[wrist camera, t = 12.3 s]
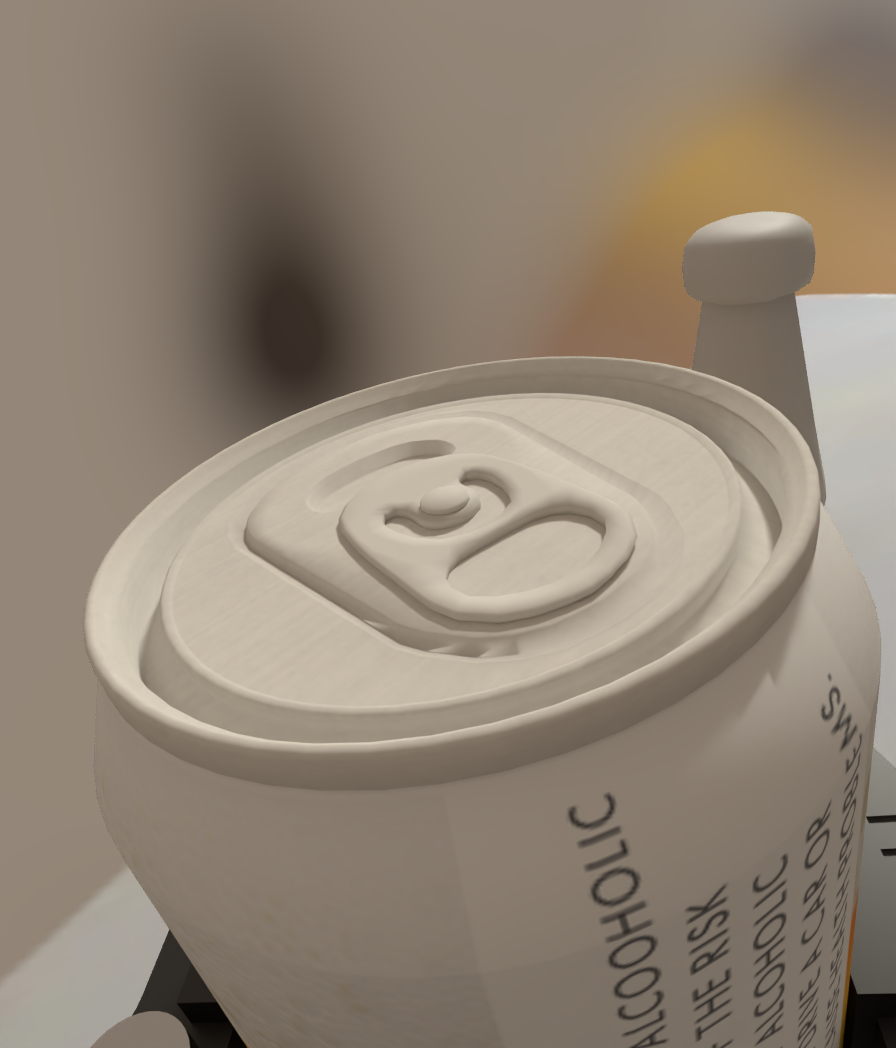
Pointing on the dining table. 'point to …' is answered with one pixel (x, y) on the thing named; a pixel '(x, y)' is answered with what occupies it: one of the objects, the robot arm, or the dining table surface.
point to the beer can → (498, 717)
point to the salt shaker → (755, 310)
